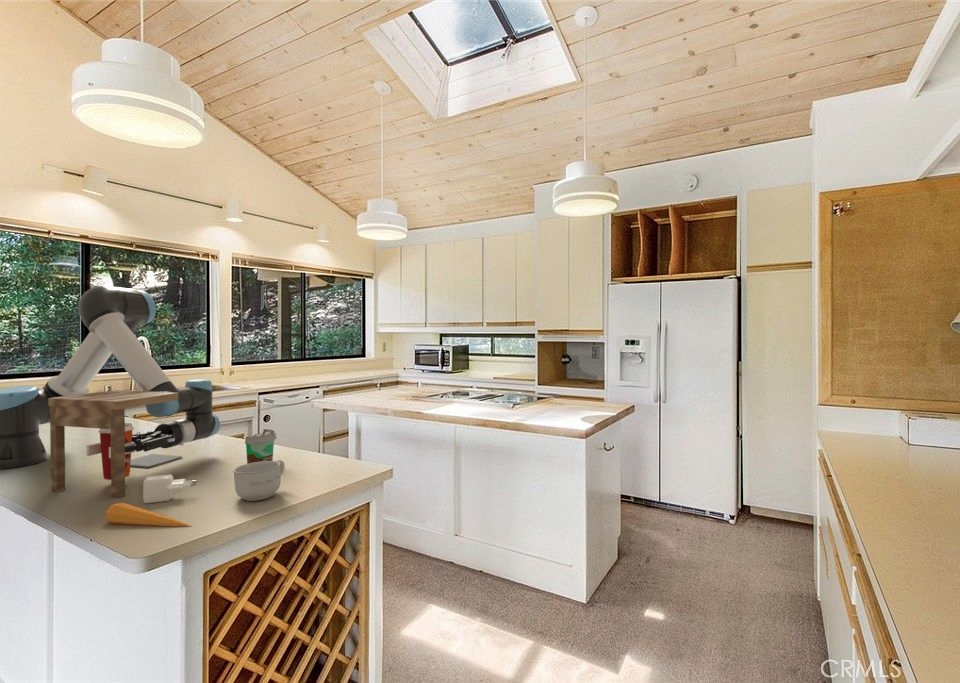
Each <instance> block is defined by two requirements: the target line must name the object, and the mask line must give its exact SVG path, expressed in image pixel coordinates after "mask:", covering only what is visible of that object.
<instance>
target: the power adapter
mask: <svg viewBox="0 0 960 683" xmlns="http://www.w3.org/2000/svg"><path fill="white" fill-rule="evenodd" d="M198 483H199V480H198V479H195V480H194V479H193V480H186V478H179V479H174V476H173V474H160V475H151V476H147V477H146V478H145V479H144V481H143V484H142V497H143V500H142V501H143V503H144V504H153V503H154V504H155V502H156V503H161V502H162V503H164V502H168V501H170V500H172V499H173V496H174V491H175V492H176V491H182V490H184V489H185V488H186V487H196V486H197V485H198ZM163 501H164V502H163Z"/></svg>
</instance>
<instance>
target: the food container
mask: <svg viewBox="0 0 960 683" xmlns="http://www.w3.org/2000/svg"><path fill="white" fill-rule="evenodd" d="M276 439H277V433H276V432H275V430H273V429H269V428H268V429H267V428H263V430H262V432H260V433H257V434H254V435H253V436H245V439H244V445H245V448H246V451H245V452H246V464H249V463H254V462H261V461H274V460H273V459H274V458H273V456H274V446H275V440H276Z"/></svg>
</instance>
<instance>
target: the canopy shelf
mask: <svg viewBox="0 0 960 683" xmlns="http://www.w3.org/2000/svg"><path fill="white" fill-rule="evenodd" d="M174 400H178V393H173V392H149V391H142V390H125V389H123V390H122V389H112V390H107V391H105V390H104V391H100V392H99V391H98V392H97V391H96V392H89V393H88V394H80V395H71V396H63V397H54V398H48V404H49V406H50V423H49V426H50V427H49V428H50V431H49V432H50V435H49V436H50V437H49V438H50V439H49V440H50V445H49V446H50V448H49V449H50V451H49V452H50V491H51V492H59V490H60V491H63V490H62V489H64V490H66V450H65V449H66V443H65V441H66V440H65V438H66V436H65V435H66V434H65V432H66V431H65V429H66V427H70V428H89V429H98V430H100V429H111V480H110V497H111V498H113V499H119V498H122V497H125V496H126V477H125V423H126V420H125V416H126V414H125V413H126V412H125V409H130V408H137V407H141V406H145V405H149V404H155V403H162V402H168V401H174Z"/></svg>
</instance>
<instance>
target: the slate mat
mask: <svg viewBox="0 0 960 683" xmlns="http://www.w3.org/2000/svg"><path fill="white" fill-rule="evenodd" d="M181 459H183V456H181V455H169V454H156V453H151V454H148V455H144V456H140V457H136V458H132V459H131V462H130V468H131V467H133V468H140V467H141V468H143V469H151V468H154V467H158V466H160V465H161V466H162V465H164V464H168V463H171V462H174V461H177V460H181Z"/></svg>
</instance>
